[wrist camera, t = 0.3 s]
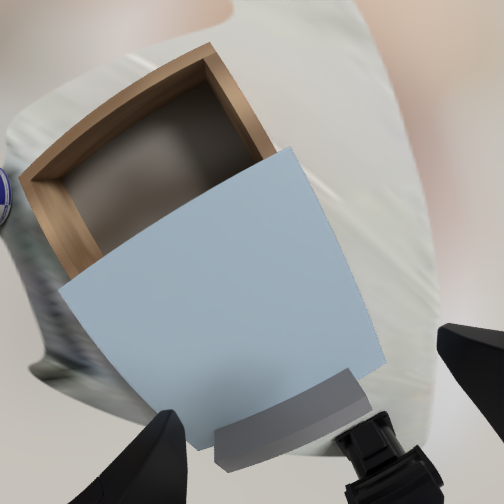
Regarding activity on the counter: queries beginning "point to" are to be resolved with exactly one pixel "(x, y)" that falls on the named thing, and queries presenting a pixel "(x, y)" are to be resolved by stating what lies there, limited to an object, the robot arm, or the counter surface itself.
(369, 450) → the robot arm
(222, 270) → the lid
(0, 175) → the energy drink
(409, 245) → the counter surface
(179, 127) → the box
